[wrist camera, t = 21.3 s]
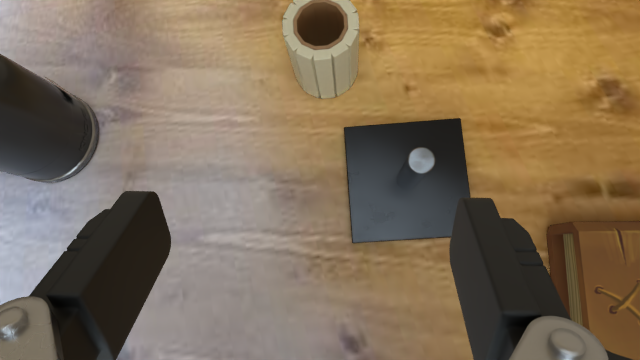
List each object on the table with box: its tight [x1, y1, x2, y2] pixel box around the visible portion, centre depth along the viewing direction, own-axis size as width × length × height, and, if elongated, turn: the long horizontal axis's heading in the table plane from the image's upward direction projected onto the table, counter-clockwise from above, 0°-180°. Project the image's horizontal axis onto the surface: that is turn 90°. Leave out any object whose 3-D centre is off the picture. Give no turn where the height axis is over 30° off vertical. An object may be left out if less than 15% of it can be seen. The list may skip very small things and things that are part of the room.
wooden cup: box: [282, 0, 359, 99], centre depth 39 cm, size 6×6×8 cm
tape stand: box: [344, 118, 470, 243], centre depth 36 cm, size 11×11×9 cm
